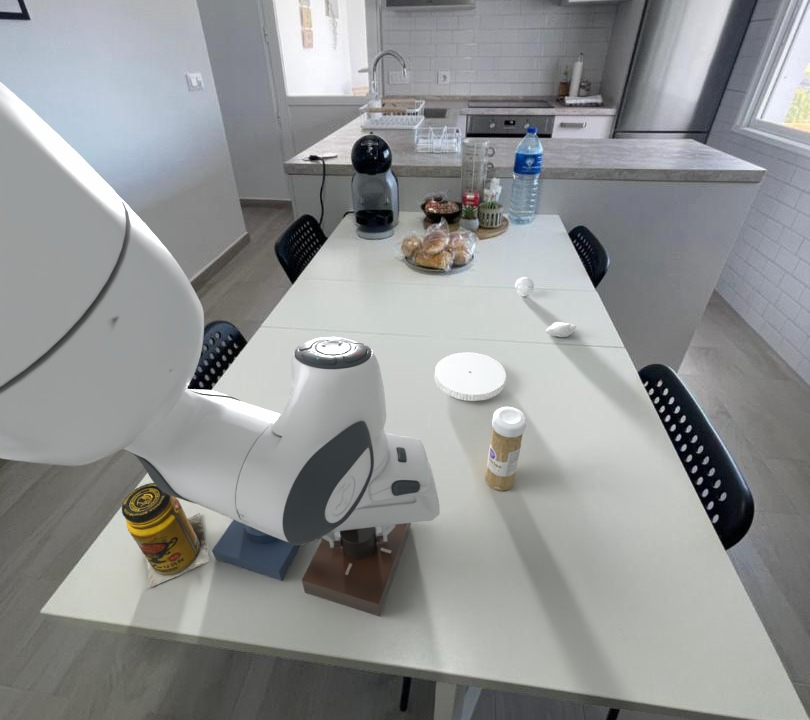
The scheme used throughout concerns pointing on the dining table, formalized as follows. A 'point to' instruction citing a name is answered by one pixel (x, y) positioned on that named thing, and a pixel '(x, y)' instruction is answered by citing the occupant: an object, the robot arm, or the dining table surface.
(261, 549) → the button housing
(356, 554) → the dial
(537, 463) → the dining table surface
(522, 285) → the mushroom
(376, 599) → the dial panel
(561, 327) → the dumpling
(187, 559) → the condiment
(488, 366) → the plastic lid
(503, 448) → the sprinkles bottle
